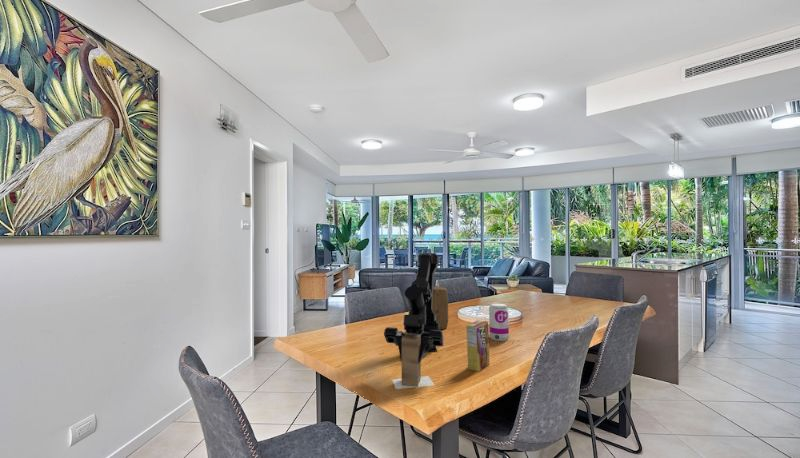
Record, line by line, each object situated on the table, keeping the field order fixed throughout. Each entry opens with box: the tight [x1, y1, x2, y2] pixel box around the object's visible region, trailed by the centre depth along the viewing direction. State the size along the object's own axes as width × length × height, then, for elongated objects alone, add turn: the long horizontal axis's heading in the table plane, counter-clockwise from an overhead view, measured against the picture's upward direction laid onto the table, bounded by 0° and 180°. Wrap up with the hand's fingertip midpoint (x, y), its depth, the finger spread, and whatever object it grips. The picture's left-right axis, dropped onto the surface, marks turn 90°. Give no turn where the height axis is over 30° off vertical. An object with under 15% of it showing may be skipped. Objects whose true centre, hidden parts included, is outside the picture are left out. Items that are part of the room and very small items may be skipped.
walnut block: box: [401, 334, 422, 388], centre depth 107 cm, size 5×5×14 cm
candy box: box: [466, 319, 491, 373], centre depth 120 cm, size 9×4×15 cm, turn 140°
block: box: [432, 286, 449, 330], centre depth 174 cm, size 11×8×20 cm
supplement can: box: [488, 302, 510, 342], centre depth 154 cm, size 8×8×15 cm
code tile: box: [391, 375, 435, 390], centre depth 107 cm, size 12×7×1 cm, turn 102°
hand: (410, 361), depth 106 cm, fingers closed on walnut block, 5 cm apart
